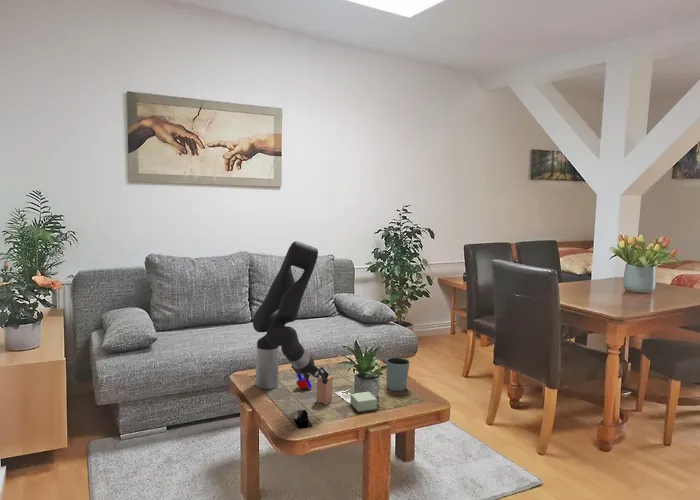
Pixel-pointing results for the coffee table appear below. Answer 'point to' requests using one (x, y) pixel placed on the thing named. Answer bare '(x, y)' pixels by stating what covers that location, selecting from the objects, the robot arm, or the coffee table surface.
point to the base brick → (363, 401)
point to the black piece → (302, 420)
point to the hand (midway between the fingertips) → (317, 379)
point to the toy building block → (303, 382)
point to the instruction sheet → (344, 395)
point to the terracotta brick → (324, 390)
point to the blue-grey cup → (397, 373)
